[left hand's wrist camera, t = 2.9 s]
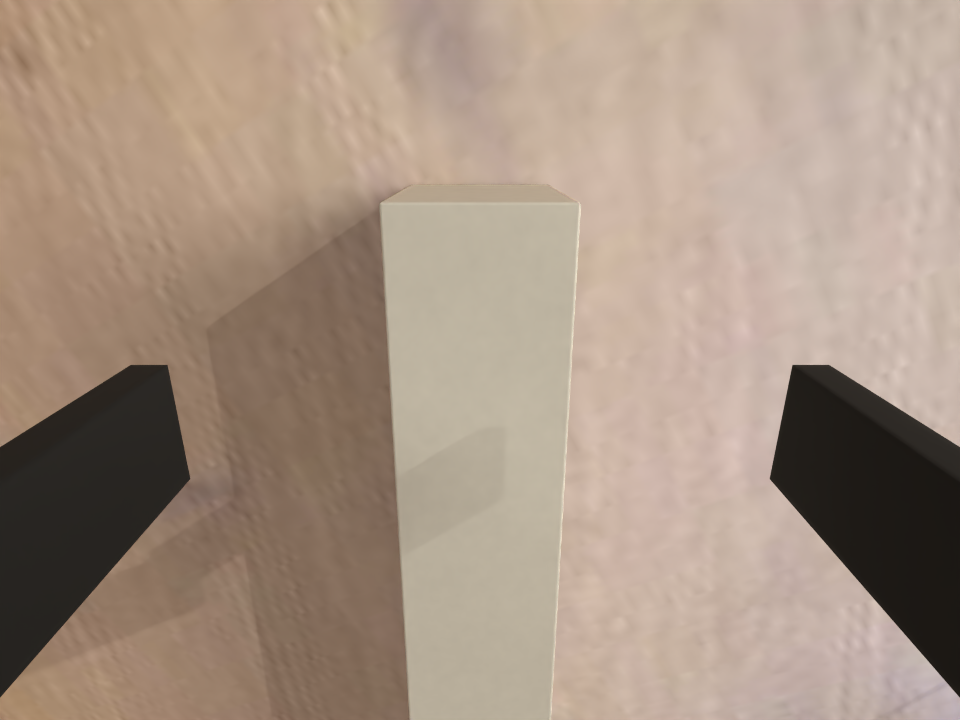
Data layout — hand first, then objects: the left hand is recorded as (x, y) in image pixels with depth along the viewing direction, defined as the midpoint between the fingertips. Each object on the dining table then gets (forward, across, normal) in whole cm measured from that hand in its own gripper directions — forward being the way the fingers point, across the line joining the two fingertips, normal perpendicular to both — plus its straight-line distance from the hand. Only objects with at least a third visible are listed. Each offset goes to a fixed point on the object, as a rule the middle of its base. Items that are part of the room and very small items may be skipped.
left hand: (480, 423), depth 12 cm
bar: (+13, 0, -26) cm, 29 cm away
